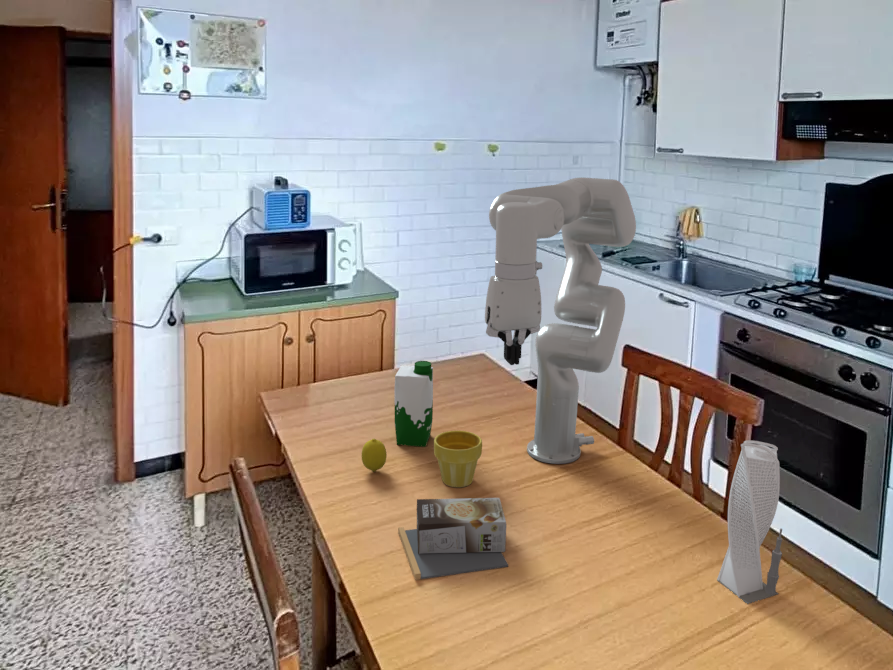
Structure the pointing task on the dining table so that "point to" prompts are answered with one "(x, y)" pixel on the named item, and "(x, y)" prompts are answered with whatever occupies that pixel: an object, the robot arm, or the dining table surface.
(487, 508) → the coffee box
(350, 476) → the dining table surface
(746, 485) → the skyscraper
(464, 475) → the plant pot
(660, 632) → the dining table surface
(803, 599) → the dining table surface
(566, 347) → the robot arm
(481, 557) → the mat
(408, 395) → the milk carton
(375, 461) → the lemon
